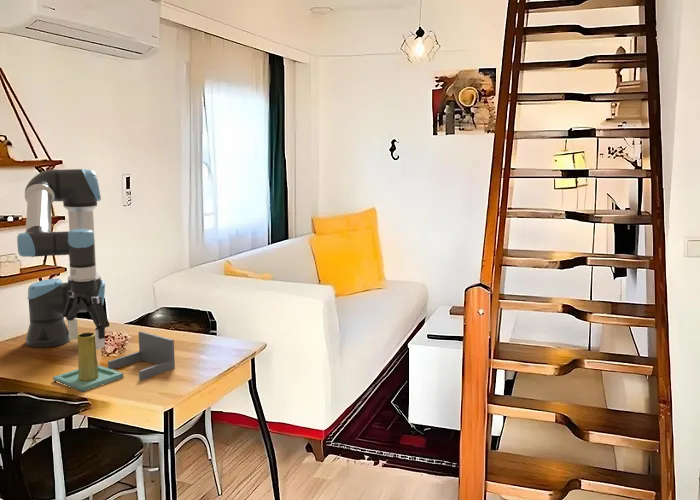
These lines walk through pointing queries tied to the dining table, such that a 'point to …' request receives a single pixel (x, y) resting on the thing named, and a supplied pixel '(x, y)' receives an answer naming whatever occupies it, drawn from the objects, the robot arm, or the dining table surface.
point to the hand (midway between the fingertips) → (86, 343)
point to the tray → (104, 377)
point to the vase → (87, 357)
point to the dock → (149, 355)
